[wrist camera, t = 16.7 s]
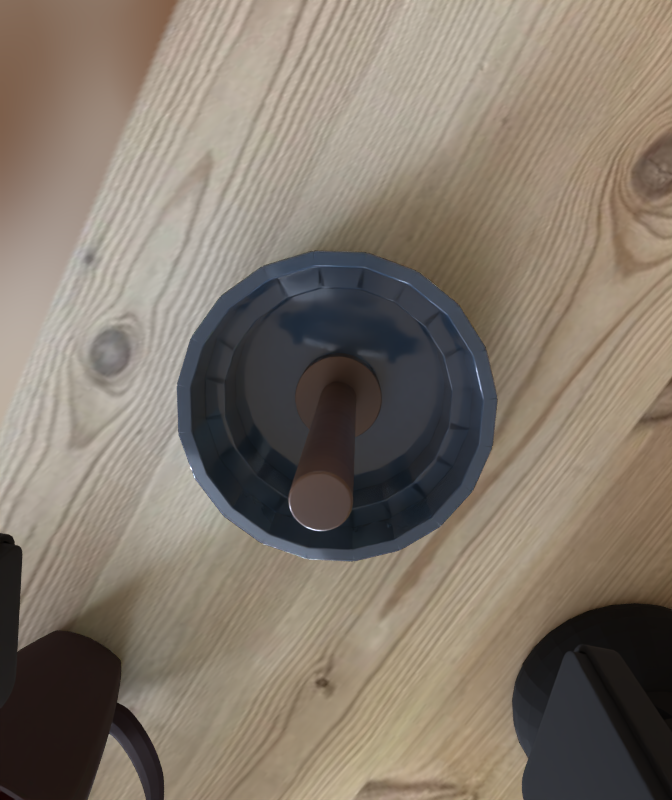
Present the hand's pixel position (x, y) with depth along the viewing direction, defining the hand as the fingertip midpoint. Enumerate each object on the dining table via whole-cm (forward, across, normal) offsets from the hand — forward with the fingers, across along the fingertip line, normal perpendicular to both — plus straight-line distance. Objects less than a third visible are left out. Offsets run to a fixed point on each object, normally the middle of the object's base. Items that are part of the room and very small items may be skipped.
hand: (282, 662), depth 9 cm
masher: (+23, 0, +1) cm, 23 cm away
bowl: (+24, 0, +1) cm, 24 cm away
